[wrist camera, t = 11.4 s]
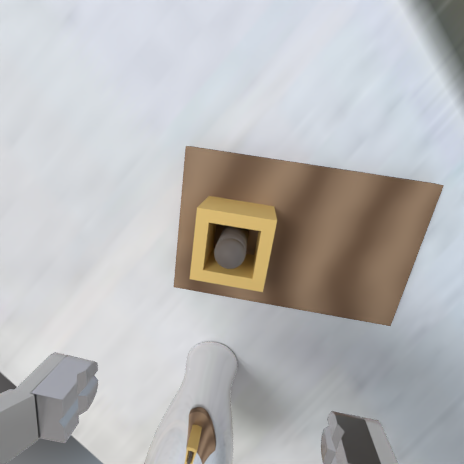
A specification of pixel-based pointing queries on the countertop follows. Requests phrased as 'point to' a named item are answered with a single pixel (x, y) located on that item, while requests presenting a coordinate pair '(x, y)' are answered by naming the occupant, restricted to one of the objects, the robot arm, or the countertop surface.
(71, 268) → the countertop surface
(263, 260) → the sleeve
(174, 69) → the countertop surface
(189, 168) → the base plate
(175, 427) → the beer glass
